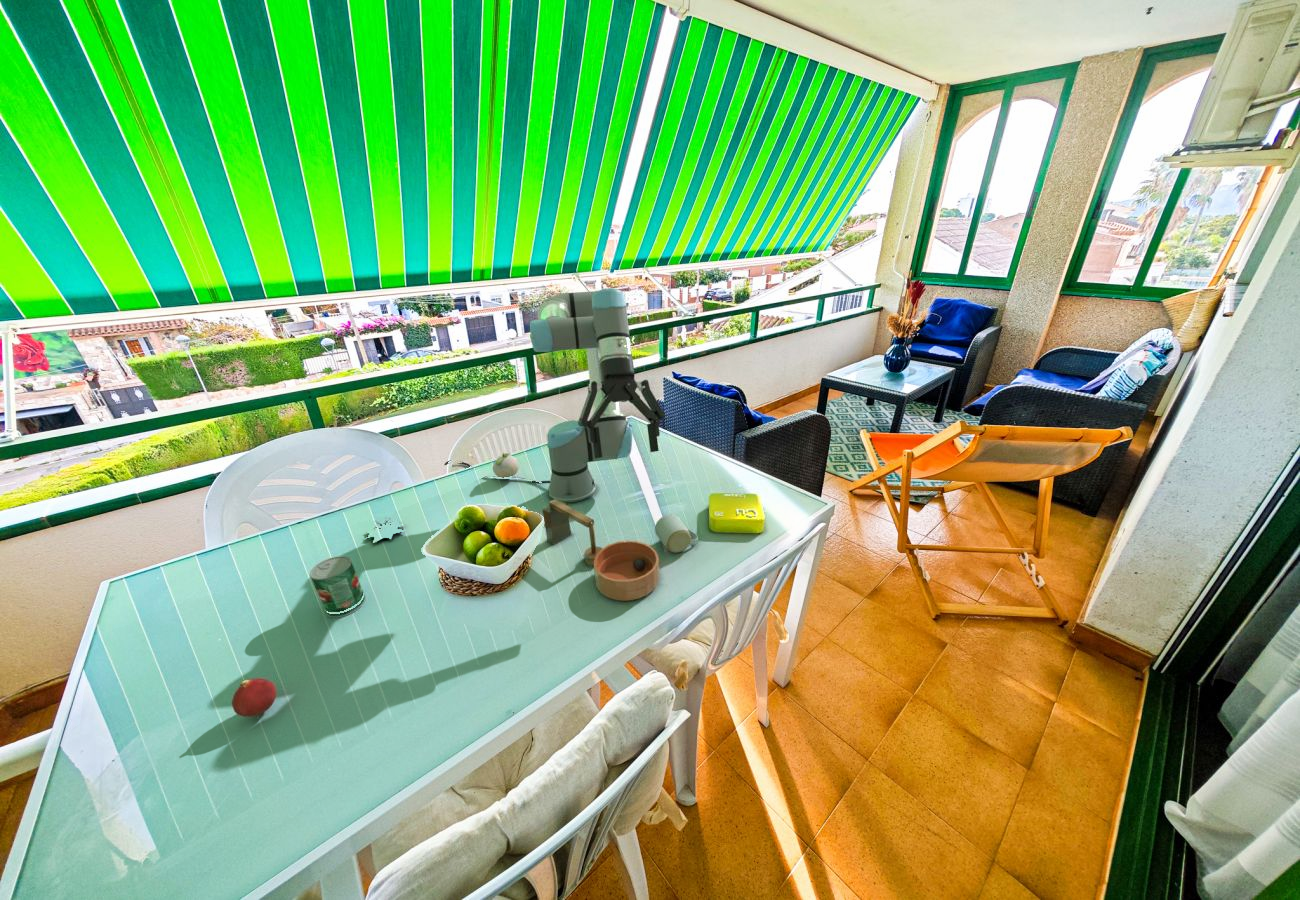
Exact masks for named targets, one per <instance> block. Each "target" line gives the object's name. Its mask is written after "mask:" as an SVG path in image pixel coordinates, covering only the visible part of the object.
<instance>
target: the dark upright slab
mask: <svg viewBox="0 0 1300 900" xmlns="http://www.w3.org/2000/svg"><path fill="white" fill-rule="evenodd" d="M559 502H561V503H563V504H565V505H567V506H568V503H565V502H563V501H561V500H560V501H559ZM542 515H543V522H544V529H545V536H546V541H547V542H548V543H550V544H551V545H553V546H554V545H556V544H559V543H560V542H562V541H564V540H565V539H567V538H569V537H570V536H572V532H571V531H572V530H571V523H570V518H569V517H568V516H566V515H564V514H562V513H561V512H559V511H557V510H555V509H553V508H552V507H550V506H549V505H547V506H546V507H545V506H544V508H542Z"/></svg>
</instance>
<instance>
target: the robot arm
mask: <svg viewBox="0 0 1300 900" xmlns="http://www.w3.org/2000/svg"><path fill="white" fill-rule="evenodd" d="M627 307H628V304H627V302H626V297H625V293H624V291H622V290H620V289H618V288H613V287H609V288H608V287H607V288H601V289H599V290H595V291H593V290H592V291H591V290H590V291H578V292H577V291H576V292H563V293H559V294H555V295H554V296H551V297H549V298H547V299H545V300H543V302H542V303H541V304H540V305H539V307H538V310H537V319H534V320H531V321H530V324H529V331H530V338H531V339H530V340H531V345H532V349H533V351H534V352H536V353H551V352H559V351H560V352H561V351H571V350H585V352H586V360H587V368H588V369H587V370H588V377H589V384H587V396H586V398H585V402H584V403H583V407H582V410H581V413H580V416H579V418H578V420H576V419H575V420H567V421H563V422H559V423H557V424H555V425H554V426H552V427H550V428H549V430H548V431H547V434H546V440H547V445H546V446H547V448H548V453H549V462H550V463H549V464H550V471H551V475H550V480H540V481H541V482H542V483H539V482H536V481H537V480H533V481H532V482H530V483H532V484H535V485H536V484H537V485H541V484H542V485H543V484H549V485H548V496H549V498H550V499H551V500H554V499H556V500H558V501H560V500H561V501H563V502H565V503H567V504H575V503H579V502H582V501H585V500H588V499H590V497H592V496H593V495H594V494H595V493H596V490H597V489H596V488H597V483H596V480H595V479H594V477H593V475H592V474H591V472H590V469H589V465H588V463H594V462H602V461H603V462H604V461H612V460H619V459H624V458H628V457H629V456H630V455H631V453H632V449H633V427H632V426H633V424H632V421H630V420H627V416H626V414H624V413H623V412H622V410H621V405H620V402H621V403H626V402H629V403H630V404H632V405H633V406H634V407H635V408H636V410H638V411H639V412H640V413H641V414H642V416H644V417H645V419H646V420H647V421H648V423H647V424H646V426H647V435H648V443H649V452H650V453H654V452H659V451H660V450H659V442H658V437H660V436H661V434H660V425H659V423H660V422H661V421H662V420H664V419H666V413H665V412H664V411H663V409H662V407H661V405H660V404H659V402H658V400H657V398H656V397H655V395H654V394H653V391H652V390H651V387H650V383H649V380H648V379H643V380H642V381H636V378H635V367H634V360H633V359H632V357H633V351H632V344H631V343H632V342H631V336H630V329H629V327H630V326H629V320H628V319H629V318H628V310H627V309H628V308H627ZM637 389H638V390H639V391H640V394H641V395H642V397H643V399H644V401H645V402H646V403H645V402H644V401H643V399H642V398H641V396H640V394H638V393H637V392H636V390H637ZM591 411H593V414H592V415H591V417H590V414H591ZM589 417H590V418H589ZM449 461H450V460H448V461H446V462H445V463H444V464H443V465H444V466H447V465H448V464H449V463H448V462H449ZM461 462H462V463H458V464H460V465H464V466H466V467H468V468H469V467H470V466H471V467H472V465H471V464H470V463H467V462H464V461H461Z"/></svg>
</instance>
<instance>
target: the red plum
mask: <svg viewBox="0 0 1300 900" xmlns="http://www.w3.org/2000/svg"><path fill="white" fill-rule="evenodd" d="M277 693H278V692H277V688H276V684H275V683H274V682H273V681H271V680H270V679H267V678H263V677H257V678H251V679H245V680H243V681H242V682H241V683H240V684H239V686H238V688H237V690H236V691H235V692H234V695H233V697H232V699H231V706H232V709H233V711H234V713H235V714H236V715H237V716H241V717H244V718H249V717H255V716H258V715H264V714H265V713H266V712H267V711H268V710H269V709H270V708H271V707H272V705H273V704H274V702H275V700H276V698H277Z"/></svg>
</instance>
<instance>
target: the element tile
mask: <svg viewBox="0 0 1300 900" xmlns="http://www.w3.org/2000/svg"><path fill="white" fill-rule="evenodd" d="M765 518H766V517H765V513H764V508H763V504H762V499H761V497H760V495H758V494H756V493H734V492H732V493H731V492H730V493H729V492H727V493H726V492H713V493H711V494H709V495H708V524H709V525H708V528H709V530H710V531H711V532H713V533H720V534H721V533H722V534H724V533H725V534H761V533H763V532H764V530H765V522H766V521H765V520H766V519H765Z"/></svg>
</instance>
